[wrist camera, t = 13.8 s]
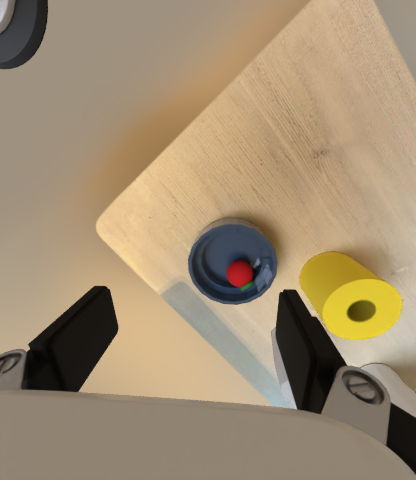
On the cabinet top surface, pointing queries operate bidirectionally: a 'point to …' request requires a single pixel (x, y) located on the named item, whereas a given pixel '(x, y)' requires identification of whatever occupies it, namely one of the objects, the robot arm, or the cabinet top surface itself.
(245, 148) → the cabinet top surface
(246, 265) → the toy tomato
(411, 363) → the cabinet top surface
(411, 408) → the vase
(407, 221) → the cabinet top surface
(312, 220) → the cabinet top surface
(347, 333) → the yellow toilet paper roll
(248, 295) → the bowl
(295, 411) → the robot arm
